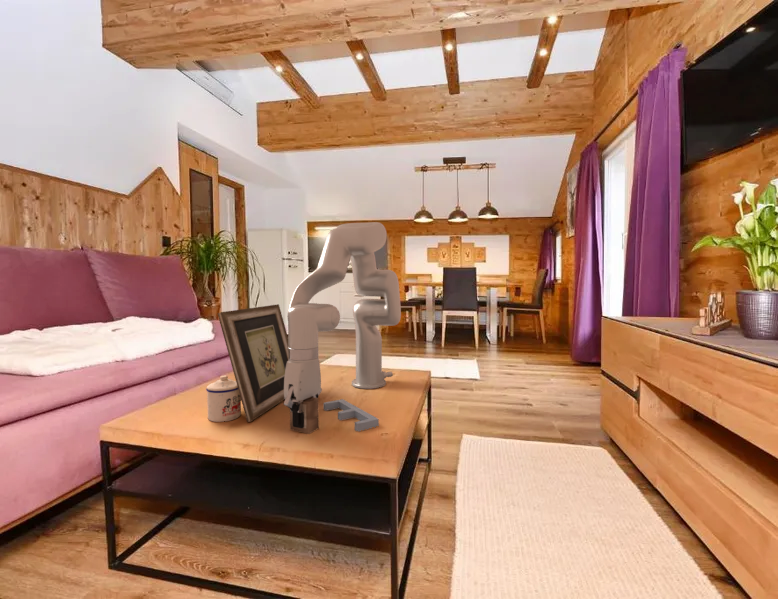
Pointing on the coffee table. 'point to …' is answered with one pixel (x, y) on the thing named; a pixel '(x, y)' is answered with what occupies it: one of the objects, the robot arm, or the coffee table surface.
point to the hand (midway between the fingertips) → (304, 423)
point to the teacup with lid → (223, 400)
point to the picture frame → (257, 355)
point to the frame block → (308, 416)
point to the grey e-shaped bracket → (352, 414)
